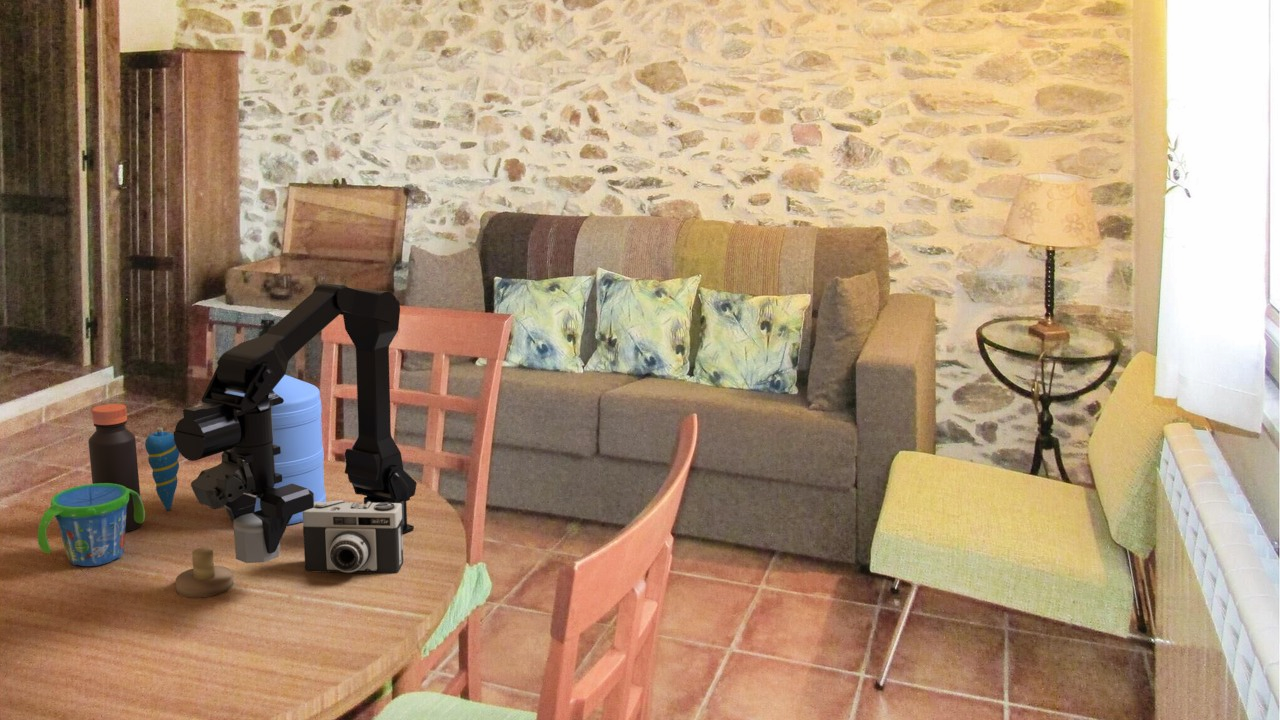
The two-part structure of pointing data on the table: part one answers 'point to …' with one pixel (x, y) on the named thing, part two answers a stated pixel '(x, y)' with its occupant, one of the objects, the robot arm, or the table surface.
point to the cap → (251, 540)
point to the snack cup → (91, 522)
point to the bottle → (114, 454)
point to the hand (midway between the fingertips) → (258, 547)
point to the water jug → (298, 438)
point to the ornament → (163, 464)
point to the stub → (204, 576)
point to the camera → (353, 537)
